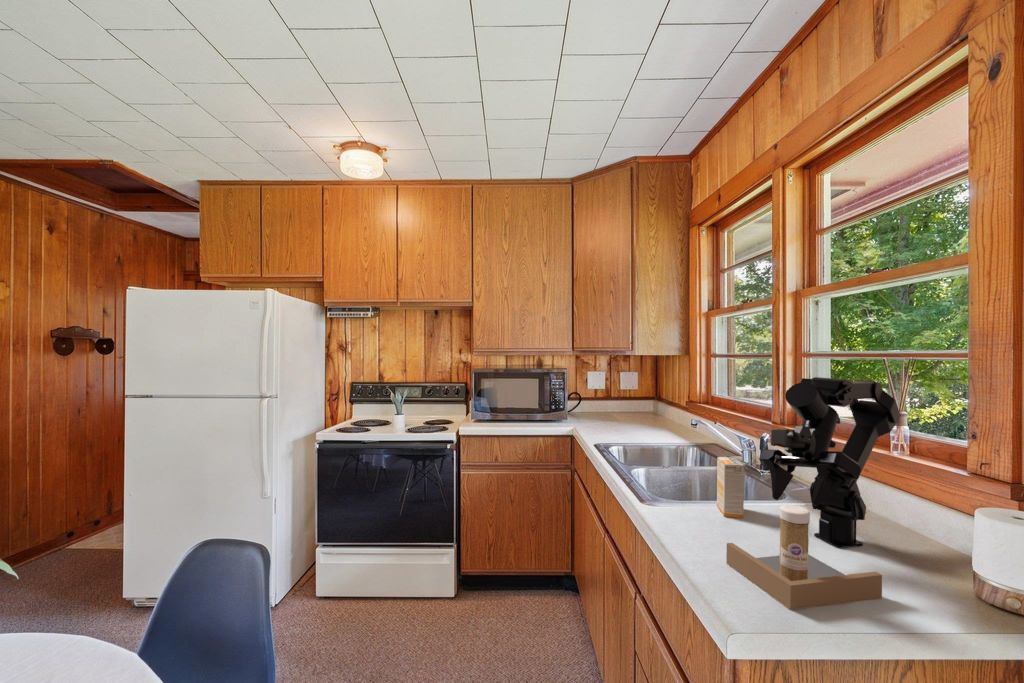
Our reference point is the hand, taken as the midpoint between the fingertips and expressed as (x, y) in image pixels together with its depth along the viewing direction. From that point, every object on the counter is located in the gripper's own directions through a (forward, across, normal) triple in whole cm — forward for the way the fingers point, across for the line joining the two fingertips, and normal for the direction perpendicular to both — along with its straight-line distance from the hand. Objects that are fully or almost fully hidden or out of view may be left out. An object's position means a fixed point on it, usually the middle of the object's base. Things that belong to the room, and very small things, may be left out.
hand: (793, 502), depth 94 cm
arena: (+13, +2, +4) cm, 13 cm away
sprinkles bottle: (+15, +4, +1) cm, 15 cm away
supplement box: (+1, -29, +11) cm, 31 cm away
